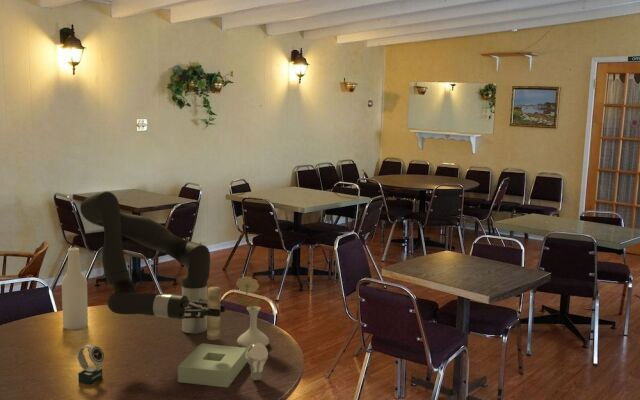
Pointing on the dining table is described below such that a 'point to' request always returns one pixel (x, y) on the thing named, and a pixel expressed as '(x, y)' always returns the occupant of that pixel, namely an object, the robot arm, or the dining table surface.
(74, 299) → the alcohol
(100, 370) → the watch
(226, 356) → the hole block
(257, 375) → the light bulb
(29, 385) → the dining table surface
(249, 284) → the flower in vase
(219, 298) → the peg
